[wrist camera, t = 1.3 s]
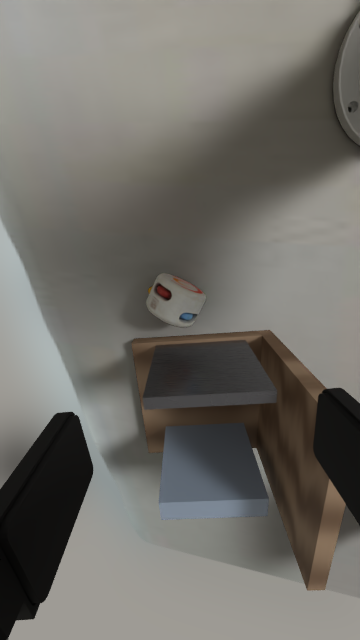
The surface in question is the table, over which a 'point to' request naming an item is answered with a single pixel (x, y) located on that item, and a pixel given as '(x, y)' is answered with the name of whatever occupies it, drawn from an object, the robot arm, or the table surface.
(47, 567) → the robot arm
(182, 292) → the roller toy
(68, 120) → the table surface
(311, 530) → the shelf
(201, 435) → the standing books
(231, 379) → the bookend
